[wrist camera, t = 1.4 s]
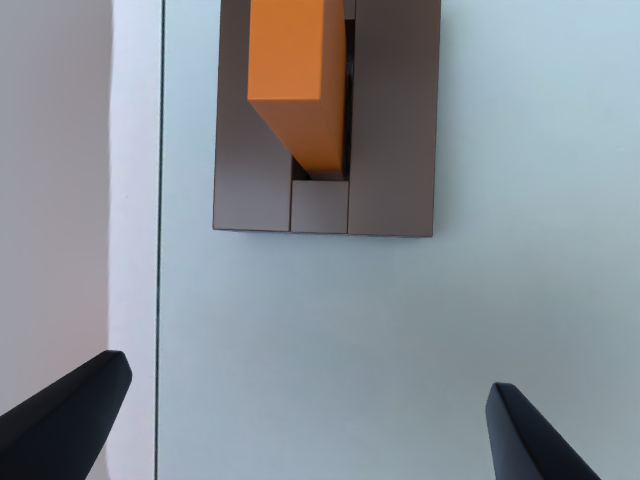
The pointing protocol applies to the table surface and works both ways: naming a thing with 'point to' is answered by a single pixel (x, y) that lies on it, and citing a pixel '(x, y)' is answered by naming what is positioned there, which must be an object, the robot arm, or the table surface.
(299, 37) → the block
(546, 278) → the table surface
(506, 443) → the robot arm
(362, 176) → the holder
